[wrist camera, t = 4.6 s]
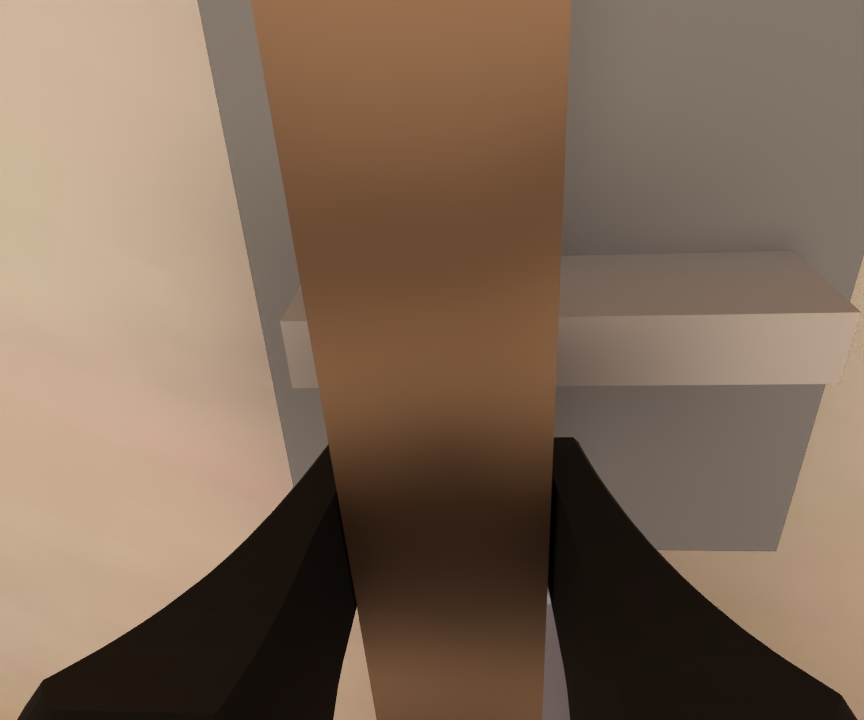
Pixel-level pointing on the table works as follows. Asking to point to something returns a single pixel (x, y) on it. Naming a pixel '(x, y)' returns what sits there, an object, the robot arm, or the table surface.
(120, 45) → the table surface
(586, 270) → the fulcrum stand
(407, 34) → the walnut beam
